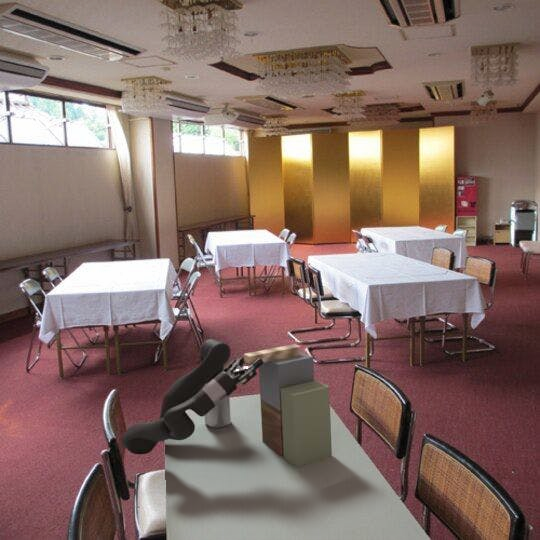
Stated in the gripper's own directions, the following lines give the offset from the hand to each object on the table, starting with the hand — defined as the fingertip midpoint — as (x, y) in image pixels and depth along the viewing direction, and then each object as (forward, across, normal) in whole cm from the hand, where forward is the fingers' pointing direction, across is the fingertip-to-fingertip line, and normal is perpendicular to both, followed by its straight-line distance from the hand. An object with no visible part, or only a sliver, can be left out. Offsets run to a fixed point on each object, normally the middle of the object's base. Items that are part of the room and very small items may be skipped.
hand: (256, 357), depth 192 cm
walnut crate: (-7, 0, -35) cm, 36 cm away
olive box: (-7, +12, -35) cm, 38 cm away
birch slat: (+5, 0, -5) cm, 7 cm away
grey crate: (+1, 0, -21) cm, 21 cm away
